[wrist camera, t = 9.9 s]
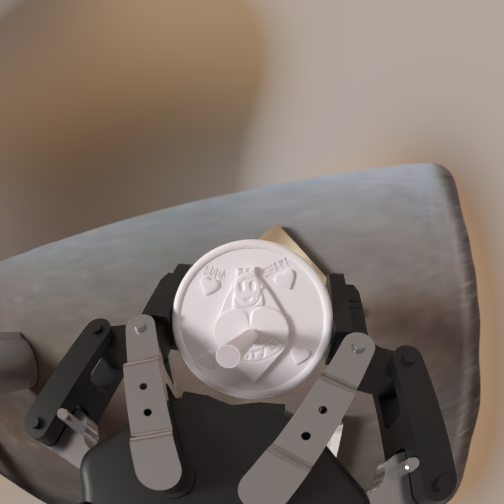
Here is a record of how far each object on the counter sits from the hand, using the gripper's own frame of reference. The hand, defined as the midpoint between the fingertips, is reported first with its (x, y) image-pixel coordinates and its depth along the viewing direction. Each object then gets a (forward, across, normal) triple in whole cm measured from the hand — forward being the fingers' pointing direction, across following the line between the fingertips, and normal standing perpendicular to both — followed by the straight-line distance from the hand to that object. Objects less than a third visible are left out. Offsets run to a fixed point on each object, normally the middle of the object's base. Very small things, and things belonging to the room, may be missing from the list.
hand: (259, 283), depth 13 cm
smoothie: (+4, 0, +6) cm, 7 cm away
